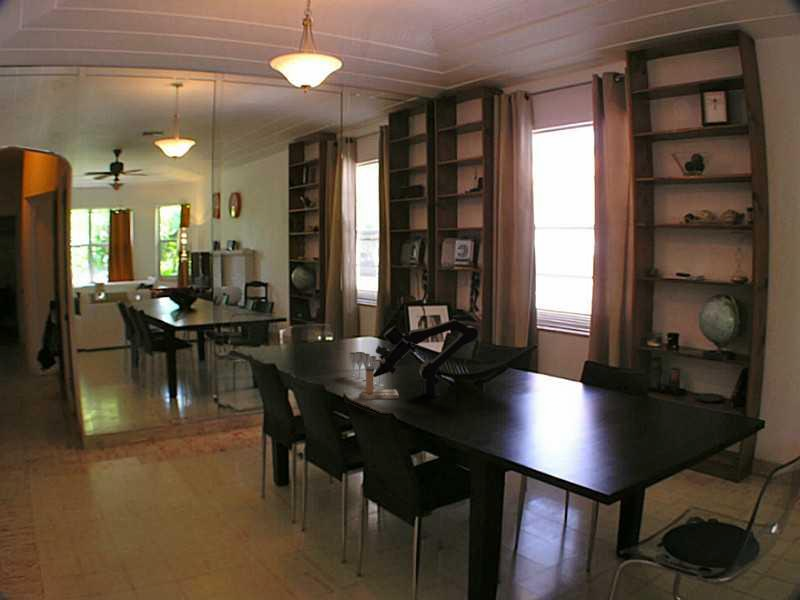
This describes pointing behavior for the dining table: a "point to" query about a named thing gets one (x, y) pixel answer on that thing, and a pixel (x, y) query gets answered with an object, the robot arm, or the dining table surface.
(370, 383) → the fader tab
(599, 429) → the dining table surface
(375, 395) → the fader console
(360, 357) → the goblet set
